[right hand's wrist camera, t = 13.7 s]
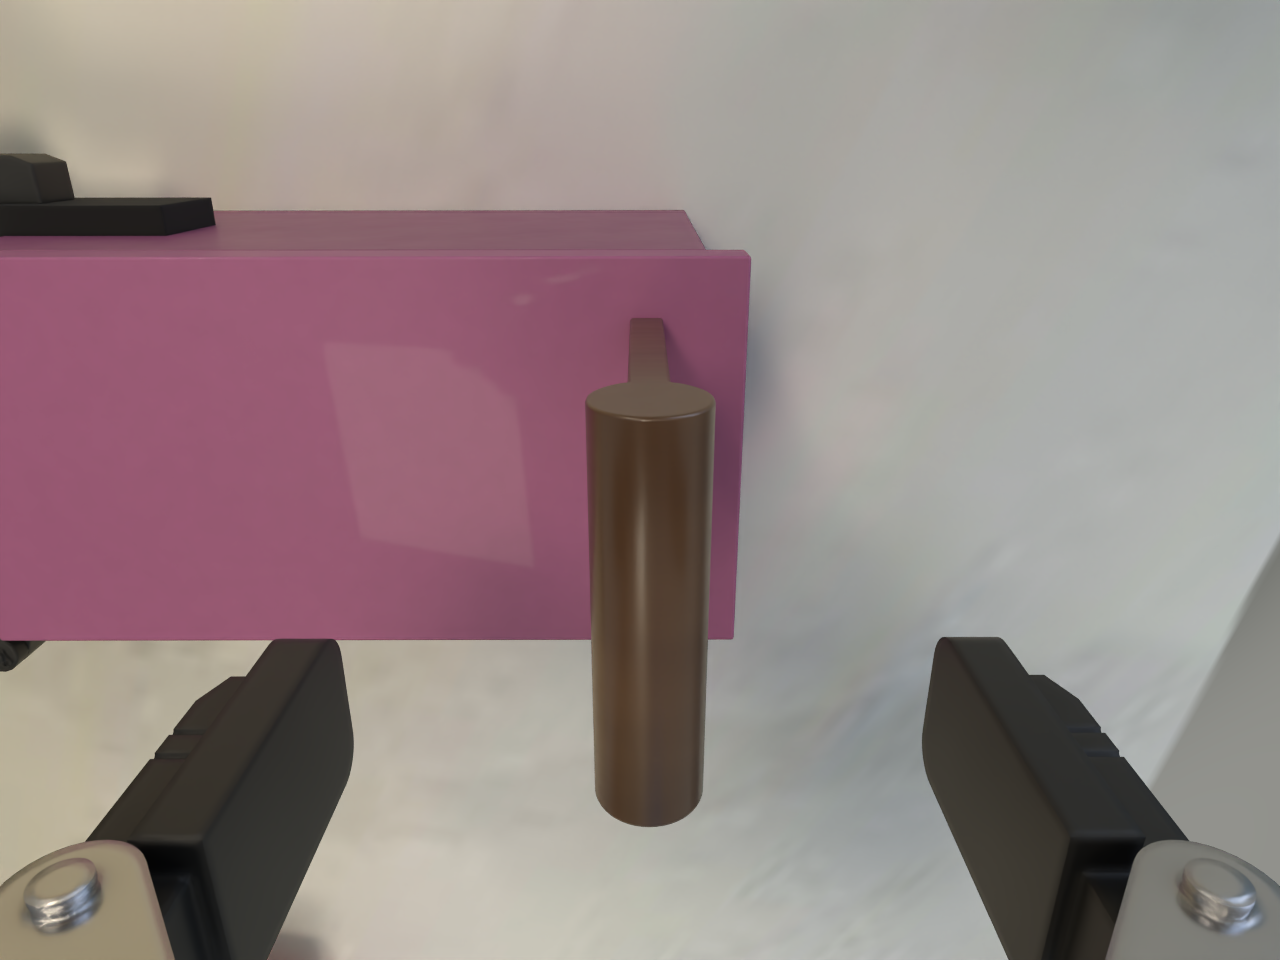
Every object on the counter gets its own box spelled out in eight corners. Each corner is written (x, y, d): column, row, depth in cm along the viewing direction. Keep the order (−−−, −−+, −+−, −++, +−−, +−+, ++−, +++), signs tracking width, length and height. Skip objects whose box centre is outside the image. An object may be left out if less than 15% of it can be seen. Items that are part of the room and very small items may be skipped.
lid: (745, 249, 19) (821, 334, 11) (729, 617, 22) (777, 880, 15) (-87, 250, 19) (-602, 336, 11) (28, 619, 22) (-301, 882, 15)
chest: (684, 210, 28) (707, 249, 19) (680, 474, 32) (697, 617, 22) (154, 210, 28) (-85, 250, 19) (208, 475, 32) (29, 618, 22)
